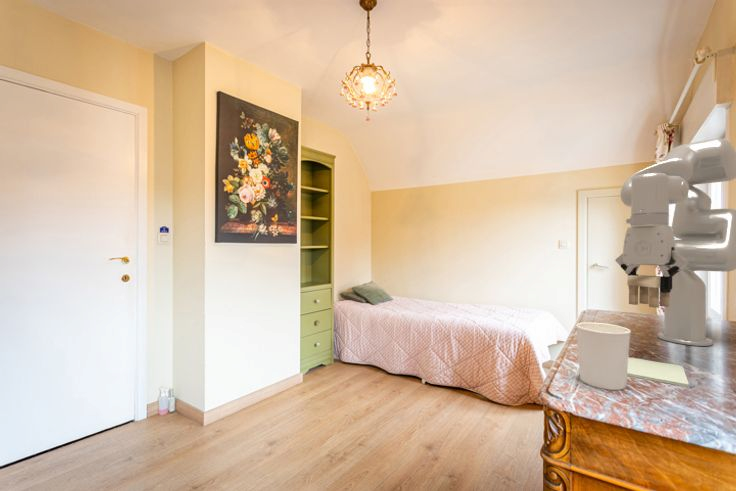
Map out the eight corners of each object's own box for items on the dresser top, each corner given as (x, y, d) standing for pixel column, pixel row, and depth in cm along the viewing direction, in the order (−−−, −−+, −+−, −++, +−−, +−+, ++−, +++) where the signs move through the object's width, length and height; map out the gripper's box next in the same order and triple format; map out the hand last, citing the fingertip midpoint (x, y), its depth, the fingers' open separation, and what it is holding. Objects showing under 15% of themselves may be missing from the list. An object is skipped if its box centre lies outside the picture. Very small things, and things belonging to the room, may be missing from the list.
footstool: (627, 303, 90) (627, 275, 90) (642, 302, 92) (642, 275, 92) (656, 307, 84) (656, 277, 84) (671, 306, 86) (671, 277, 86)
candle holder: (566, 377, 77) (566, 324, 77) (594, 371, 81) (594, 320, 81) (611, 395, 68) (611, 335, 68) (641, 387, 72) (641, 330, 72)
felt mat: (620, 358, 90) (620, 356, 90) (682, 368, 82) (682, 366, 82) (618, 373, 79) (618, 371, 79) (689, 387, 72) (689, 384, 72)
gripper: (605, 223, 95) (604, 287, 95) (683, 218, 79) (682, 295, 79) (622, 224, 98) (621, 286, 98) (700, 220, 82) (699, 294, 82)
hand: (648, 290), depth 88 cm, fingers closed on footstool, 6 cm apart
